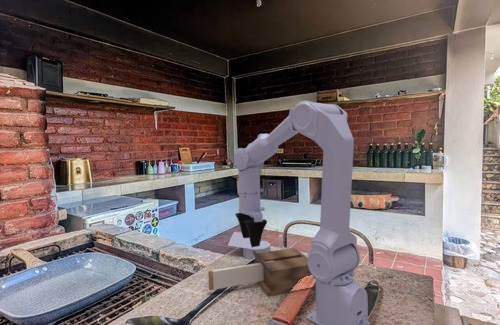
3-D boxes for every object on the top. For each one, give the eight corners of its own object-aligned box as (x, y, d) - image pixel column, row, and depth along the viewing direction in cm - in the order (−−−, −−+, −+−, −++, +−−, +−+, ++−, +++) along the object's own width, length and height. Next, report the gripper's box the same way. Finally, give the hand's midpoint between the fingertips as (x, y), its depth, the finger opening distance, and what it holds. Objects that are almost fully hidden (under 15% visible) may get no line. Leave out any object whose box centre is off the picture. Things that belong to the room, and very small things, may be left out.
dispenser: (294, 268, 82) (294, 245, 82) (316, 287, 71) (315, 260, 71) (251, 275, 78) (251, 251, 78) (267, 296, 67) (267, 268, 67)
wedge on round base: (227, 255, 94) (263, 261, 88) (227, 235, 93) (263, 240, 88) (240, 246, 102) (274, 251, 96) (240, 228, 102) (274, 232, 96)
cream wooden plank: (273, 277, 74) (273, 260, 74) (275, 278, 73) (274, 262, 73) (208, 288, 69) (208, 270, 69) (209, 290, 68) (208, 272, 68)
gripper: (273, 195, 72) (274, 248, 72) (254, 188, 86) (256, 232, 86) (246, 197, 70) (248, 252, 70) (232, 189, 83) (233, 235, 84)
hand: (250, 241), depth 78 cm, fingers open, 7 cm apart
